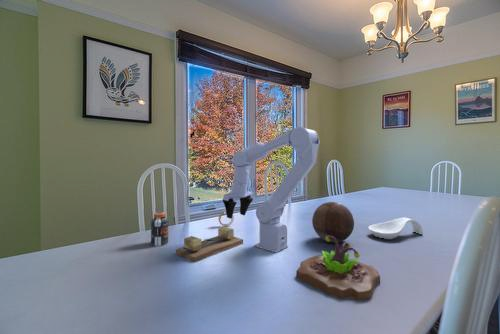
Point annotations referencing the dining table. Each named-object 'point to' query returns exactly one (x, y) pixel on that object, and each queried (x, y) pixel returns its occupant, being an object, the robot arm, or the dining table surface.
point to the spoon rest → (393, 228)
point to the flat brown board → (206, 247)
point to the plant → (339, 273)
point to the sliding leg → (226, 232)
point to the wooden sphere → (333, 221)
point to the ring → (221, 215)
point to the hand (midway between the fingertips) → (236, 216)
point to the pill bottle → (159, 229)
